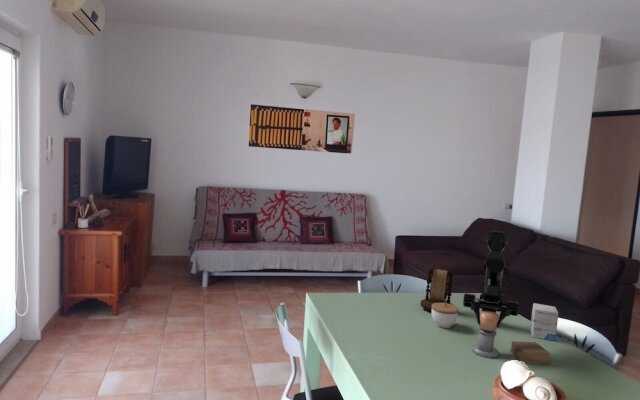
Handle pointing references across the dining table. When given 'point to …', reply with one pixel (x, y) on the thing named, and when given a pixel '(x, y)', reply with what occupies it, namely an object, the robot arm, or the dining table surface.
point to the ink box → (544, 322)
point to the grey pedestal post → (486, 344)
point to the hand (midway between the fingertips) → (488, 325)
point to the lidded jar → (444, 314)
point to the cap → (488, 320)
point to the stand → (530, 352)
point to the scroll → (437, 288)
